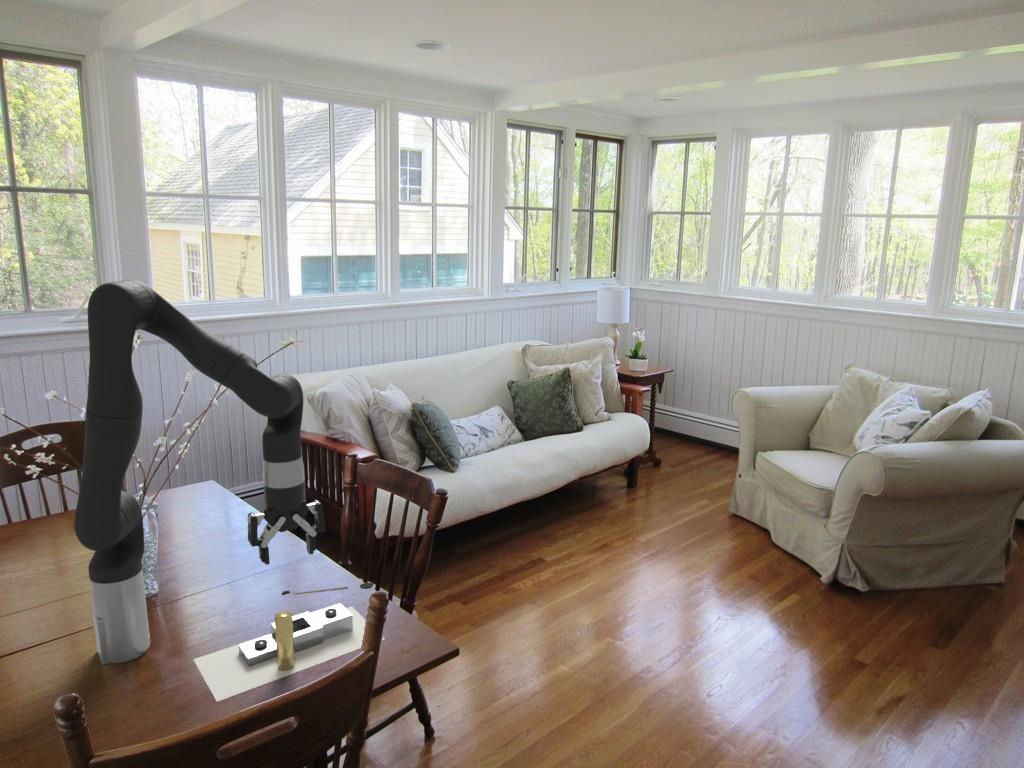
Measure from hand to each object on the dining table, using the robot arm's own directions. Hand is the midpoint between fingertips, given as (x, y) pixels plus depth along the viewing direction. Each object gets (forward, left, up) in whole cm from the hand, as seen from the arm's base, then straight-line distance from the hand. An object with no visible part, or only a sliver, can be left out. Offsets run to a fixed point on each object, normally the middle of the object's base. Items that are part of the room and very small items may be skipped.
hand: (288, 557), depth 142 cm
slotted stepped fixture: (+2, +3, -21) cm, 21 cm away
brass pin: (-3, -4, -21) cm, 21 cm away
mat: (0, +1, -21) cm, 21 cm away
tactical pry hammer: (+15, +18, -22) cm, 32 cm away
